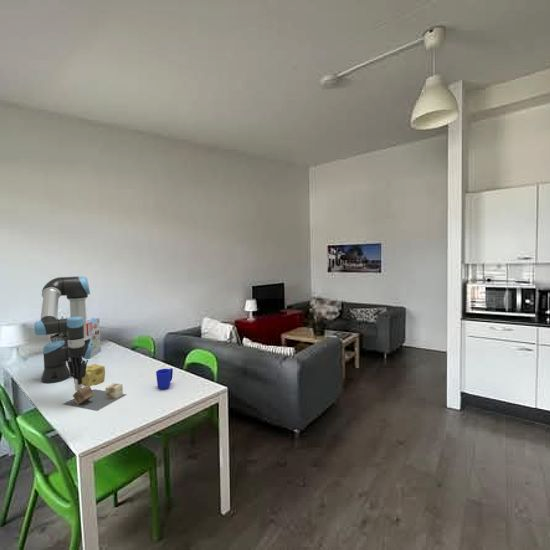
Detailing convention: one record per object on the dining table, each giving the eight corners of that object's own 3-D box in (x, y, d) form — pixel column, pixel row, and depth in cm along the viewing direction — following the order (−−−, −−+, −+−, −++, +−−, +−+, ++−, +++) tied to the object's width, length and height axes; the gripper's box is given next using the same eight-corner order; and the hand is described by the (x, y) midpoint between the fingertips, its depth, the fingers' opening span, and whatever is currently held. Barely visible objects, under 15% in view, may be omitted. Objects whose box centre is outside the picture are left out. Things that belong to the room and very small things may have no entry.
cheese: (88, 387, 194) (88, 371, 193) (79, 383, 200) (78, 367, 199) (105, 381, 203) (105, 365, 202) (96, 378, 208) (95, 363, 208)
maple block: (105, 398, 178) (105, 387, 178) (112, 393, 184) (112, 383, 183) (116, 399, 177) (115, 388, 177) (122, 394, 183) (122, 383, 183)
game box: (94, 351, 267) (92, 318, 265) (101, 350, 268) (99, 318, 266) (81, 359, 246) (80, 323, 245) (89, 359, 247) (88, 323, 245)
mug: (178, 383, 199) (177, 367, 198) (165, 391, 188) (164, 374, 187) (166, 381, 202) (166, 365, 201) (153, 389, 190) (152, 372, 190)
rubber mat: (61, 404, 171) (61, 404, 171) (94, 389, 190) (94, 389, 190) (97, 411, 164) (97, 410, 164) (127, 395, 183) (127, 394, 183)
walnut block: (72, 395, 171) (78, 389, 170) (82, 390, 177) (88, 385, 175) (78, 405, 170) (84, 399, 169) (88, 400, 176) (94, 394, 174)
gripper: (60, 347, 171) (62, 391, 172) (79, 349, 167) (81, 394, 168) (73, 343, 178) (75, 385, 179) (91, 345, 174) (93, 388, 175)
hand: (78, 390), depth 174 cm, fingers closed
